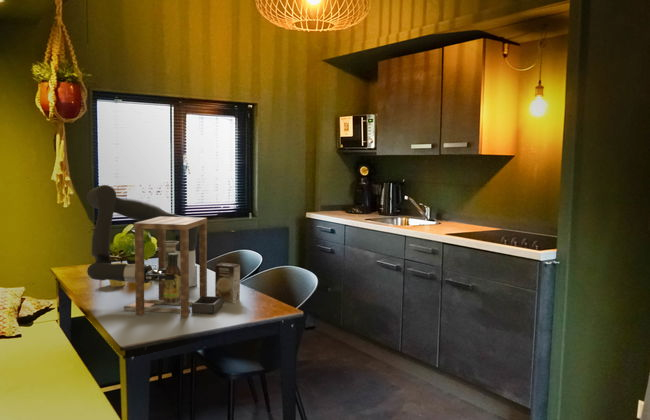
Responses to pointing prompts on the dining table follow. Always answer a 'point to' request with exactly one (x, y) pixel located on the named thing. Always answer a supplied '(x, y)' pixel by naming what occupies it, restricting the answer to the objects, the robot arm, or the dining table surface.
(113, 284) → the plant pot
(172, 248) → the apothecary jar
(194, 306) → the box
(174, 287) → the sauce bottle
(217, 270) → the coffee box
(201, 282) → the frame
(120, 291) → the dining table surface
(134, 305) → the pad
